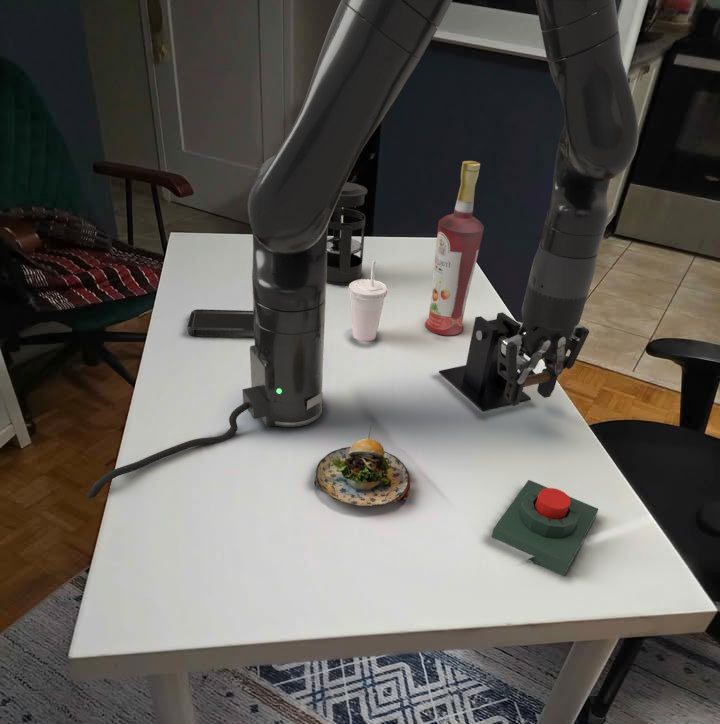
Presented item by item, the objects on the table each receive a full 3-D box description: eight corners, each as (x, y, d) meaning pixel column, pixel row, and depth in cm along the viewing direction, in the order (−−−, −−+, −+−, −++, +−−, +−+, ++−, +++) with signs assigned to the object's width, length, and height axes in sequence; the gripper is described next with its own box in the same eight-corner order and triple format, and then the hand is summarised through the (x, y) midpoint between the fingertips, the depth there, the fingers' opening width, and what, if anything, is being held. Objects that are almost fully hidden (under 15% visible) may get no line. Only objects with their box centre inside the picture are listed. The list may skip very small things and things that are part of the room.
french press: (313, 265, 135) (316, 144, 120) (357, 265, 137) (365, 146, 122) (320, 289, 126) (324, 161, 111) (367, 288, 128) (377, 163, 113)
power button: (560, 524, 73) (564, 513, 72) (530, 511, 74) (534, 500, 73) (570, 507, 75) (574, 496, 74) (541, 495, 77) (545, 483, 75)
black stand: (529, 404, 99) (549, 334, 91) (481, 416, 95) (498, 344, 88) (483, 367, 107) (498, 299, 99) (437, 377, 103) (449, 308, 96)
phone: (192, 309, 113) (278, 311, 114) (192, 315, 114) (278, 317, 115) (186, 330, 107) (277, 331, 108) (187, 336, 108) (277, 338, 109)
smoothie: (378, 352, 108) (387, 270, 99) (341, 346, 109) (346, 264, 100) (385, 335, 113) (393, 256, 104) (349, 329, 114) (354, 250, 105)
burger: (296, 491, 79) (296, 442, 75) (346, 445, 87) (350, 398, 83) (380, 531, 75) (386, 481, 70) (425, 478, 83) (434, 431, 78)
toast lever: (546, 386, 91) (553, 373, 89) (518, 392, 89) (525, 380, 88) (501, 329, 97) (507, 317, 95) (474, 334, 95) (479, 322, 93)
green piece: (564, 576, 72) (574, 551, 69) (489, 542, 75) (496, 516, 72) (593, 521, 79) (603, 497, 76) (524, 492, 82) (532, 468, 80)
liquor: (471, 337, 115) (505, 168, 97) (437, 344, 112) (465, 171, 94) (448, 320, 119) (476, 155, 101) (415, 326, 116) (438, 158, 99)
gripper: (533, 304, 76) (503, 423, 87) (622, 288, 81) (583, 402, 92) (494, 279, 81) (471, 395, 92) (581, 266, 86) (549, 376, 97)
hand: (528, 398), depth 92 cm, fingers closed on toast lever, 5 cm apart
